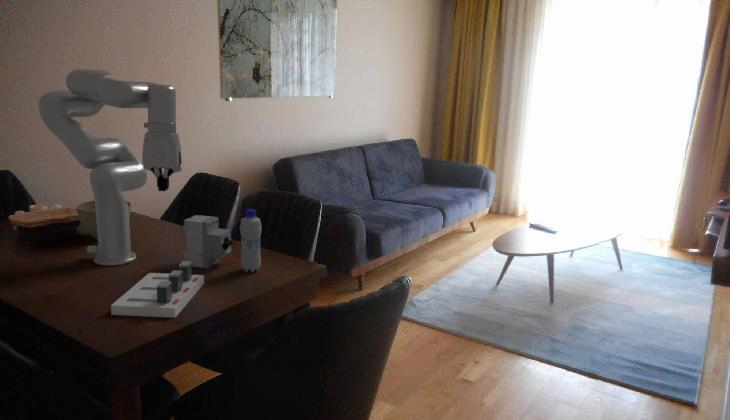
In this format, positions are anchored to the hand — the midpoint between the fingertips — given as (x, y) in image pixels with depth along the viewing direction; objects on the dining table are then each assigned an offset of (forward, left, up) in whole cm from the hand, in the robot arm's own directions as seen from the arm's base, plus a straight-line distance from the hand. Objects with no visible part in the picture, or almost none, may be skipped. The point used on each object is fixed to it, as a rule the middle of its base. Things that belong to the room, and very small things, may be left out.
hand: (163, 190), depth 158 cm
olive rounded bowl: (-35, +35, -26) cm, 56 cm away
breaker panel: (+6, -19, -26) cm, 33 cm away
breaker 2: (+10, -11, -23) cm, 27 cm away
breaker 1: (+10, -27, -23) cm, 37 cm away
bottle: (+25, +6, -26) cm, 37 cm away
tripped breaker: (+10, -19, -23) cm, 32 cm away
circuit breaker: (+11, +10, -26) cm, 30 cm away
